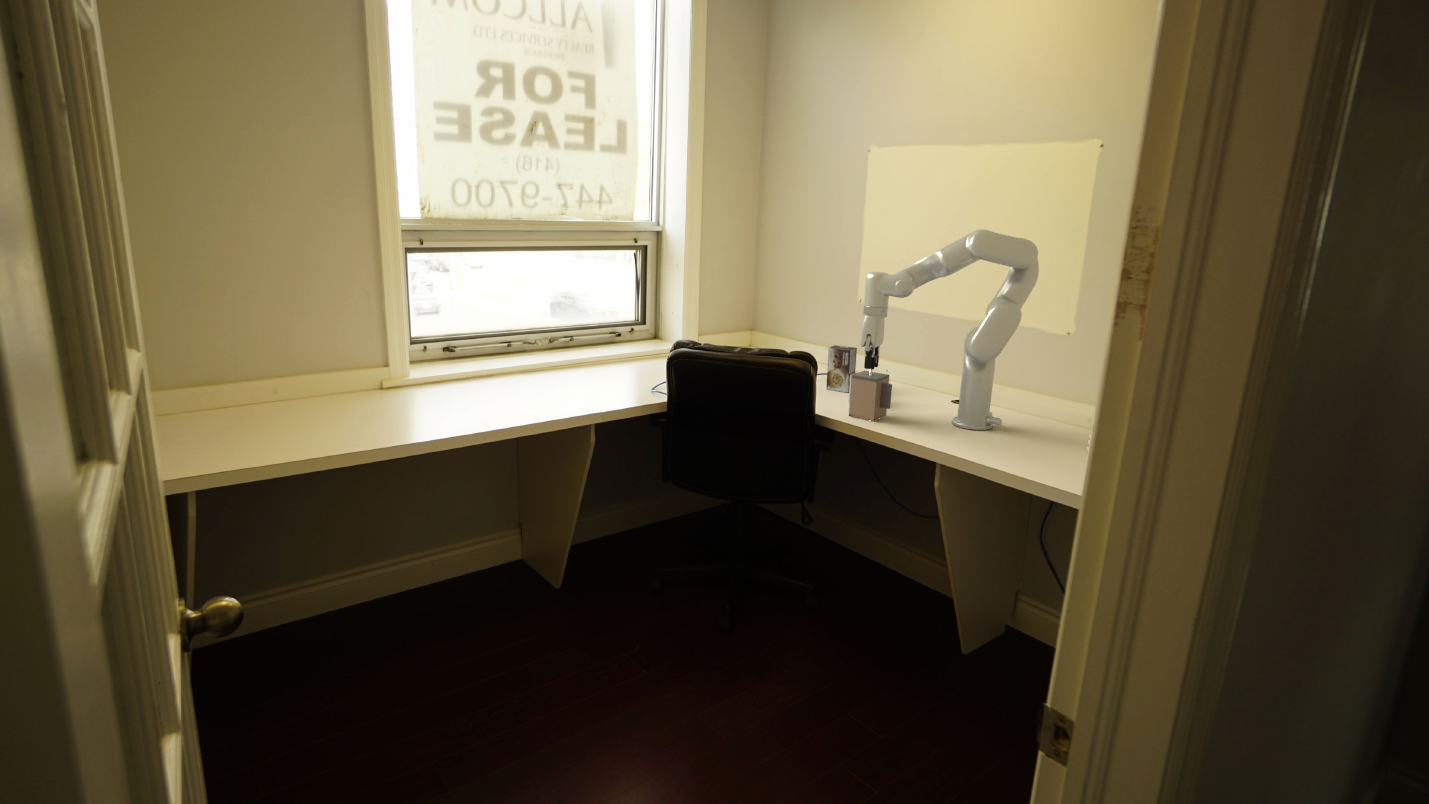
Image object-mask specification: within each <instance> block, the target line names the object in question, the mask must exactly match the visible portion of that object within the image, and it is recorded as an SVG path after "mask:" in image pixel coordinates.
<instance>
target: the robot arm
mask: <svg viewBox="0 0 1429 804" xmlns="http://www.w3.org/2000/svg"><path fill="white" fill-rule="evenodd" d="M1038 256H1039V249H1038V247H1037V245H1036V244H1035V243H1034V242H1033V241H1032V240H1029V239H1027V238H1024V237H1015V236H1011V235H1007V234H1002V233H999V232H994V231H991V230H988V229H985V228H979V229H976V230H974V231H972V232H969V233H968V234H966V235H965V236H962V237H961V238H959V239H957V240H956V241H955V240H954V241H953V242H951V243H950V244H947V245H946V246H944V247H941V248H939V249H938V250H936V251H934V252H932V253H931V254H929V255H927V256H926V257H924V258H922V259H920V260H918V261H916V262H914V263H912V264H910V265H909V266H907V267H905V268H903V269H901V270H899V271H897V272H896V273H893V274H889V273H887V272H882V271H872V272H867V274H866V276H865V286H864V300H863V313H862V315H863V323H862V329H861V330H862V331H861V335H860V336H861V337H860V338H861V339H860V347H861V348H863V347H864V353H865V354H864V367H863V368H864V369H865V370H870V369H872V371H873V370H874V369H875V368H878V367H879V359H880V348H881V347H880V346H881V345H882V344H883V343H884V340H885V339H884V338H885V321H886V320H885V319H886V318H887V317H888V311H889V297H894V298H899V299H903V298H907V297H909V296H911V295H912V293H913V292H914V291H915V290H916V289H917V288H919V287H921V286H923V285H925V284H927V283H929V282H932V281H934V280H937V279H940V278H946V277H949V276H951V275H953V274H955V273H957V272H959V271H961V270H962V269H964V268H966V267H968V266H970V265H972V264H974V263H977V262H978V261H980V260H982V261H986V262H988V263H992V264H996V265H997V264H998V265H1001V266H1007V267H1008V273H1007V274H1006V278H1005V279H1004V281H1003V283H1002V284H1001V286H1000V288H999V289H998V291H997V292H996V294H995V295H994V297H993V298H992V299H991V301H990V302H989V303H988V305H987V307H986V309H985V317H984V318H983V320H982V322H981V324H980V325H979V326H976V327H974V328H972V329H971V330H969V332H968V333H967V334H966V336H965V339H964V344H963V345H964V348H963V362H962V363H963V364H962V373H961V382H960V392H959V401H958V409H957V416H955V417H953V418H952V419H951V423H952V424H953V426H956V427H958V428H961V429H967V430H974V431H983V430H984V431H985V430H990V429H992V428H993V427H994V425H995V426H1002V423H1003V419H1001V417H995V416H993V411H991V401H992V394H993V385H994V379H995V370H996V369H995V368H996V359H997V358H998V356H1000V354H1001V353H1002V351H1003V350H1004V349H1005V347H1006V346H1007V345H1008V342H1009V341H1010V340H1011V338H1012V337H1013V336H1014V333H1015V332H1016V330H1017V329H1018V327H1019V325H1020V323H1021V320H1022V308H1023V306H1024V304H1025V303H1026V302H1027V300H1028V298H1029V297H1030V295H1031V293H1032V292H1033V290H1034V288H1035V286H1036V285H1037V283H1038V282H1037V281H1038V278H1039V272H1040V271H1039V270H1040V264H1039V260H1038ZM874 355H876V356H877V364H875V357H874Z"/></svg>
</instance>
